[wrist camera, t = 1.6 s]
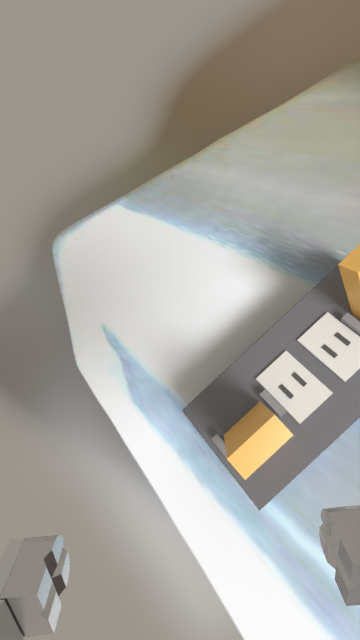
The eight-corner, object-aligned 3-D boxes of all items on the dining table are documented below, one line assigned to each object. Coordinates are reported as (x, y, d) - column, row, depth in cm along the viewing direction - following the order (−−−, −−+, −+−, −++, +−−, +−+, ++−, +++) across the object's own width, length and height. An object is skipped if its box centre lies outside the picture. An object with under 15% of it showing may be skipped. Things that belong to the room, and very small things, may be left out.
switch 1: (260, 401, 32) (274, 414, 25) (274, 416, 32) (293, 434, 24) (223, 434, 32) (226, 459, 25) (237, 450, 32) (245, 480, 24)
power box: (353, 268, 40) (361, 239, 35) (449, 330, 34) (477, 308, 29) (195, 415, 40) (178, 409, 35) (264, 503, 34) (257, 512, 29)
